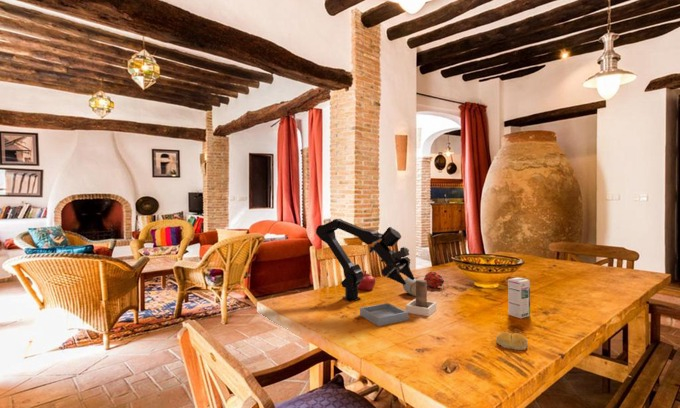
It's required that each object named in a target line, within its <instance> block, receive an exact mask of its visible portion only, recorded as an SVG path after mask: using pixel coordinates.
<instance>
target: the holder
mask: <svg viewBox="0 0 680 408" xmlns="http://www.w3.org/2000/svg"><path fill="white" fill-rule="evenodd" d="M405 311H407V312H408V314H413V315H419V316H424V317H430V316H431V315H432V314H434V312H435V311H437V302H436V301H428V300H427V308H424V307H418V306H416V298H414V299H412V300H411V301H410V302H408V303H407V304H406V305H405Z"/></svg>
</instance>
